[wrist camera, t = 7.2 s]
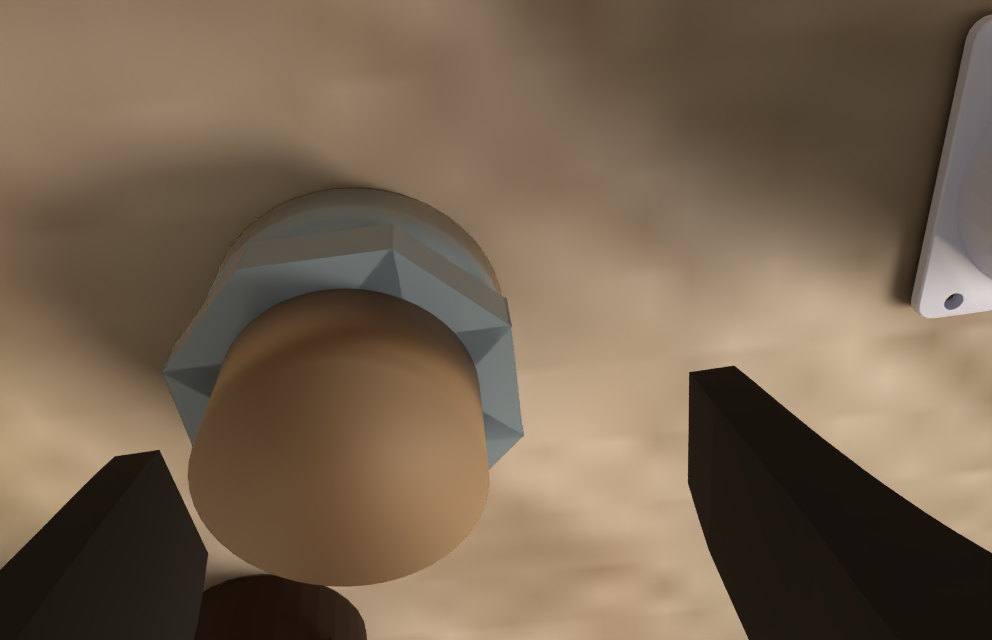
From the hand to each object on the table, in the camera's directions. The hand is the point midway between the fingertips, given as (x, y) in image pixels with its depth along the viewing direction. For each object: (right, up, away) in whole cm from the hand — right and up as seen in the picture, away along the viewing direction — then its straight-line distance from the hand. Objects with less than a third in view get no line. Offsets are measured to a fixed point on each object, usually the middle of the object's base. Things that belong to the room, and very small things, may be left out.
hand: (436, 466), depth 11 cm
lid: (-2, 0, +7) cm, 7 cm away
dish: (-3, +2, +10) cm, 11 cm away
